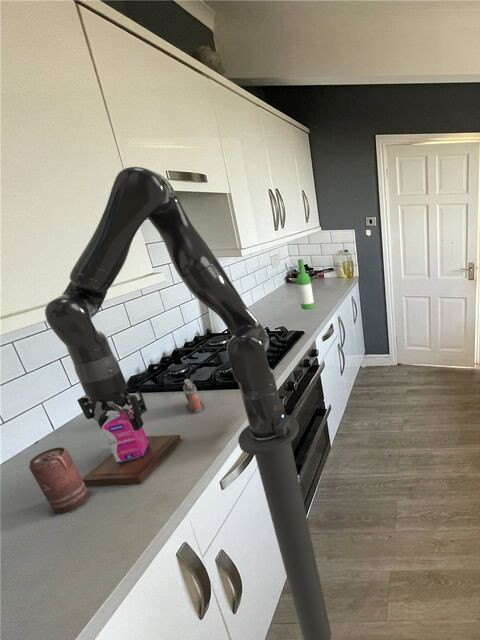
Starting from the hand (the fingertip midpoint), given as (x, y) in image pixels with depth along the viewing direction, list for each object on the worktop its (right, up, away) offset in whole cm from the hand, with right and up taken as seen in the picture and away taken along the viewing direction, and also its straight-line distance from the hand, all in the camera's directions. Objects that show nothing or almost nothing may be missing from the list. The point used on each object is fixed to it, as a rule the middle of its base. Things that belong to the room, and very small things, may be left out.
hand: (123, 429), depth 90 cm
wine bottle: (+4, +37, +125) cm, 131 cm away
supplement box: (0, -8, +3) cm, 8 cm away
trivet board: (0, -10, +4) cm, 10 cm away
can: (-4, -15, -8) cm, 18 cm away
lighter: (0, -1, +27) cm, 27 cm away
